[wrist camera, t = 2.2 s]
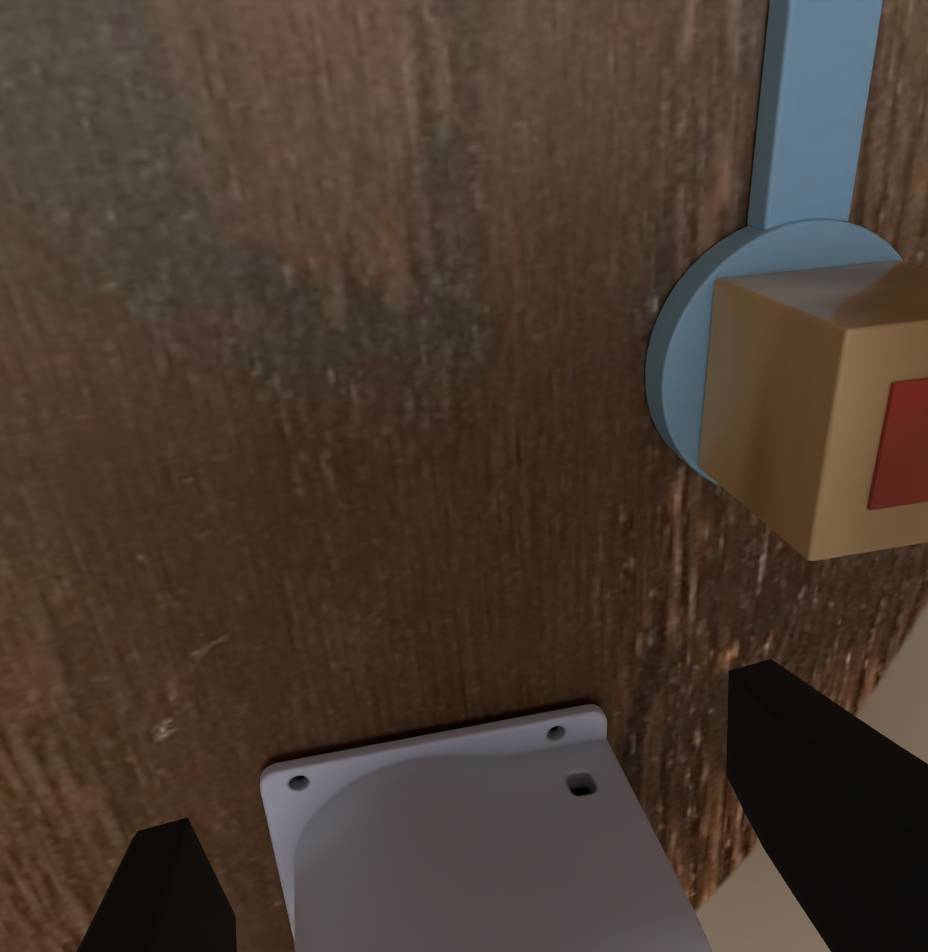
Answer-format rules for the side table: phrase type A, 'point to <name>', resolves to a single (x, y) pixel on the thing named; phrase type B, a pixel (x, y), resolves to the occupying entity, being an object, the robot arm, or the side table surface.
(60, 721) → the side table surface
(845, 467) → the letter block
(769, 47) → the spoon
